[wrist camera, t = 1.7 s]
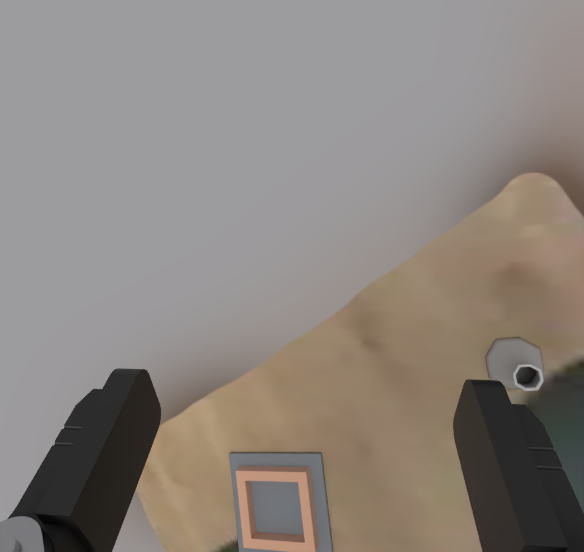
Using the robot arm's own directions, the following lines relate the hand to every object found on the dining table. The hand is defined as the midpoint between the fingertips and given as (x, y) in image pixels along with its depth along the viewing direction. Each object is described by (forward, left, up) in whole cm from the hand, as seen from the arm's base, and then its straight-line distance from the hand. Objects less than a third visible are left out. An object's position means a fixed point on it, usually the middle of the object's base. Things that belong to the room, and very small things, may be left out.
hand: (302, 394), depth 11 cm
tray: (-13, +36, -54) cm, 67 cm away
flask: (-14, -6, -55) cm, 57 cm away
